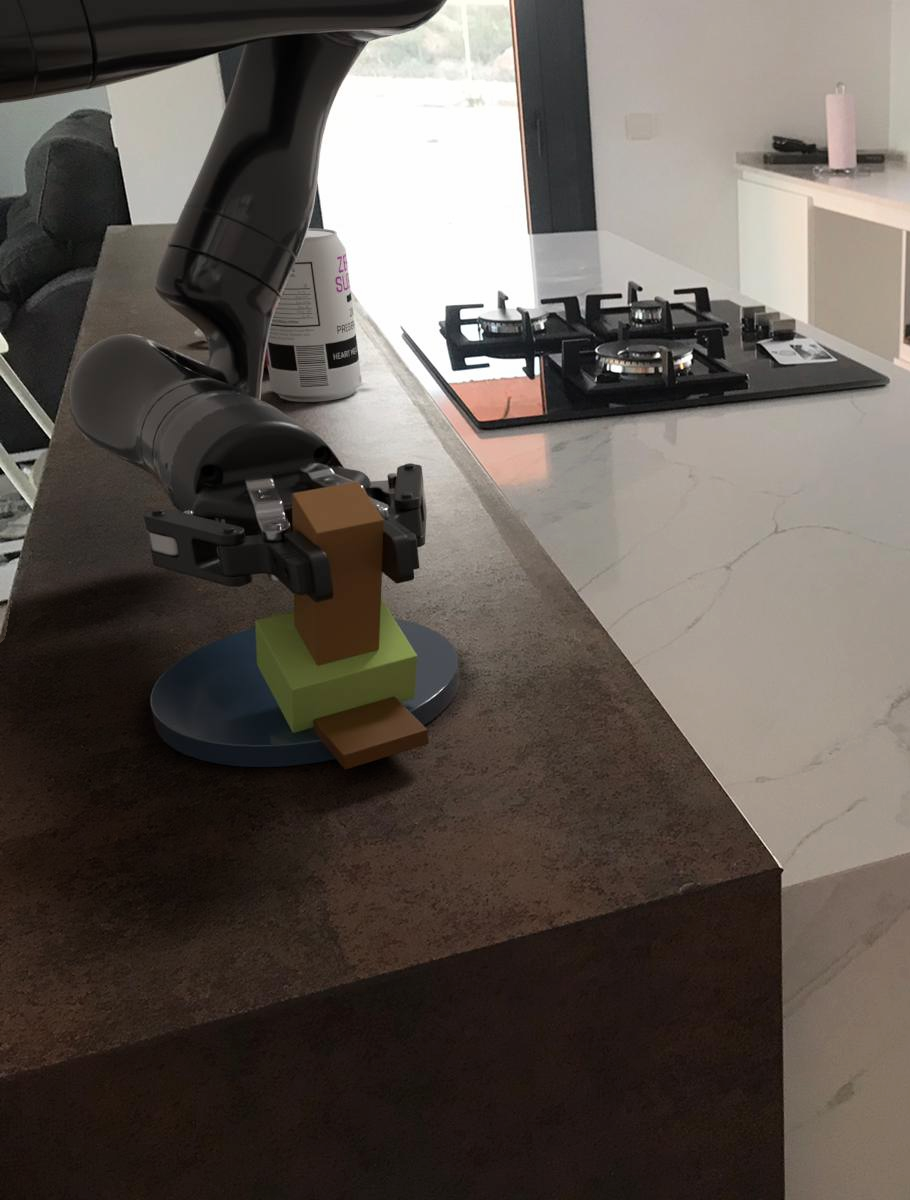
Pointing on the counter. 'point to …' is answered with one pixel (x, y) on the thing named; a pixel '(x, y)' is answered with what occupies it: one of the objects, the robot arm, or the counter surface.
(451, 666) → the plate
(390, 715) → the food crust
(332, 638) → the sponge brush
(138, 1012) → the counter surface
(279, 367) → the supplement can
